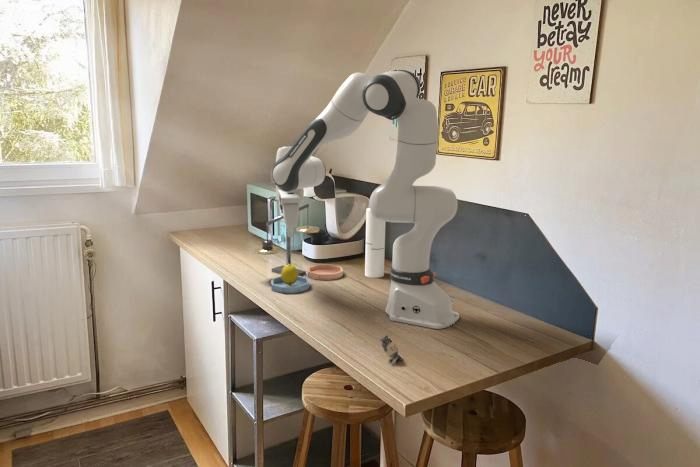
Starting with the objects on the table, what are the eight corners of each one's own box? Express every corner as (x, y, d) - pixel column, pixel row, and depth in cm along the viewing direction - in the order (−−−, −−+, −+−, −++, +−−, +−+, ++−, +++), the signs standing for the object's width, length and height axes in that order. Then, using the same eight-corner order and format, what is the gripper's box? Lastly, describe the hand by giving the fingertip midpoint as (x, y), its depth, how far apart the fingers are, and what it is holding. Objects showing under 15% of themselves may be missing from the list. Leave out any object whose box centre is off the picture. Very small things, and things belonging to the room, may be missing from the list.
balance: (303, 261, 220) (303, 200, 215) (326, 267, 213) (327, 204, 208) (247, 279, 196) (245, 211, 191) (270, 286, 189) (269, 215, 184)
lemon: (280, 288, 185) (279, 267, 182) (283, 281, 190) (283, 260, 187) (296, 289, 185) (295, 268, 182) (299, 282, 190) (298, 261, 187)
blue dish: (316, 286, 190) (316, 280, 189) (291, 296, 180) (290, 289, 179) (289, 279, 197) (289, 273, 197) (263, 288, 187) (263, 281, 187)
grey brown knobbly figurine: (373, 359, 135) (375, 336, 134) (387, 354, 139) (388, 331, 138) (390, 366, 132) (392, 342, 131) (403, 360, 136) (405, 337, 135)
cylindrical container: (371, 271, 209) (373, 206, 204) (387, 274, 205) (389, 209, 200) (361, 275, 204) (362, 209, 198) (377, 278, 200) (379, 211, 194)
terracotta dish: (349, 274, 205) (349, 268, 204) (327, 282, 194) (327, 276, 194) (322, 267, 212) (323, 262, 212) (300, 275, 202) (300, 269, 202)
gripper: (278, 189, 191) (278, 228, 194) (281, 199, 171) (281, 241, 174) (296, 189, 192) (296, 227, 195) (301, 198, 172) (301, 241, 175)
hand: (289, 234), depth 184 cm, fingers open, 5 cm apart
